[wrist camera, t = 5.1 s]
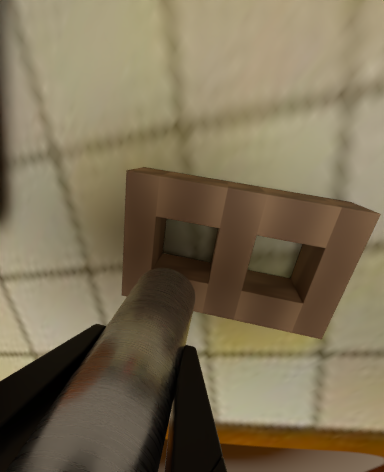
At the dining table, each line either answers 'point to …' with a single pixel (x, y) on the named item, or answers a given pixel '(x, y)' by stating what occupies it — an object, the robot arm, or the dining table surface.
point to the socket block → (247, 246)
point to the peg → (119, 387)
